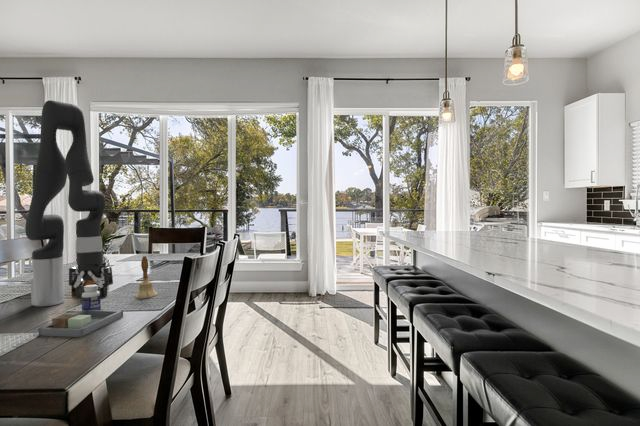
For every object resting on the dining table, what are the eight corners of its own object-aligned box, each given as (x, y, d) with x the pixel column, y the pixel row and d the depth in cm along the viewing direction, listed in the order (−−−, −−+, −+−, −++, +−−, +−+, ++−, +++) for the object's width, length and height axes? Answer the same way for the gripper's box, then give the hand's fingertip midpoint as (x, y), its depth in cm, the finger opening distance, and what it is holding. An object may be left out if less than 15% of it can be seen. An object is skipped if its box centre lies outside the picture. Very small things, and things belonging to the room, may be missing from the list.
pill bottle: (92, 317, 122) (91, 287, 122) (78, 316, 123) (77, 287, 123) (104, 312, 127) (103, 284, 127) (91, 311, 128) (90, 283, 128)
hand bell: (142, 299, 144) (141, 258, 143) (130, 296, 148) (129, 256, 148) (161, 294, 151) (160, 255, 150) (149, 292, 155) (148, 254, 155)
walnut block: (52, 332, 107) (51, 318, 106) (63, 327, 111) (63, 314, 110) (65, 332, 106) (64, 318, 106) (75, 328, 110) (75, 314, 110)
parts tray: (38, 337, 104) (38, 328, 104) (86, 317, 122) (86, 309, 122) (80, 339, 103) (80, 330, 103) (123, 318, 121) (122, 310, 121)
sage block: (68, 332, 106) (67, 319, 106) (79, 328, 110) (78, 314, 110) (81, 333, 105) (80, 319, 105) (91, 328, 109) (91, 315, 109)
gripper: (61, 251, 122) (63, 301, 122) (101, 251, 120) (103, 301, 120) (78, 248, 129) (80, 295, 129) (116, 248, 127) (118, 295, 128)
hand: (91, 298), depth 125 cm, fingers open, 8 cm apart
